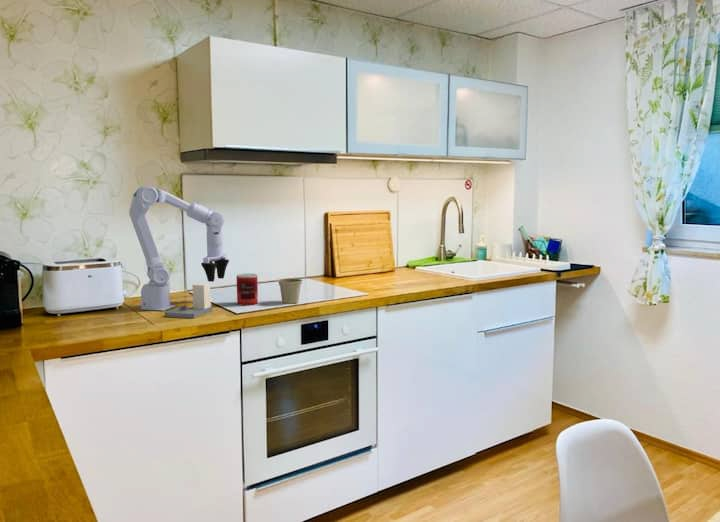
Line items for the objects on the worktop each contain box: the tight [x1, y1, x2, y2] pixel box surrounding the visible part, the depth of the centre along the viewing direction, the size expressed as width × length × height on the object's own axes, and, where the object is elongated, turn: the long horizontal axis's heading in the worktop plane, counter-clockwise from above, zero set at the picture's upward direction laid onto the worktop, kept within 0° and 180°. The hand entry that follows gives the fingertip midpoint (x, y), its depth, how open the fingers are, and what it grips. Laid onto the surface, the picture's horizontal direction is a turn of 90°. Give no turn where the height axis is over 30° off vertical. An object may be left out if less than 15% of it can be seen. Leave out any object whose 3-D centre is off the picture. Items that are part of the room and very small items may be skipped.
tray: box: [164, 305, 213, 319], centre depth 193 cm, size 11×12×2 cm
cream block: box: [191, 282, 212, 310], centre depth 201 cm, size 4×4×9 cm
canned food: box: [236, 273, 259, 306], centre depth 210 cm, size 8×8×11 cm
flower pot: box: [277, 278, 303, 305], centre depth 213 cm, size 9×9×9 cm
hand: (216, 279), depth 211 cm, fingers open, 7 cm apart
